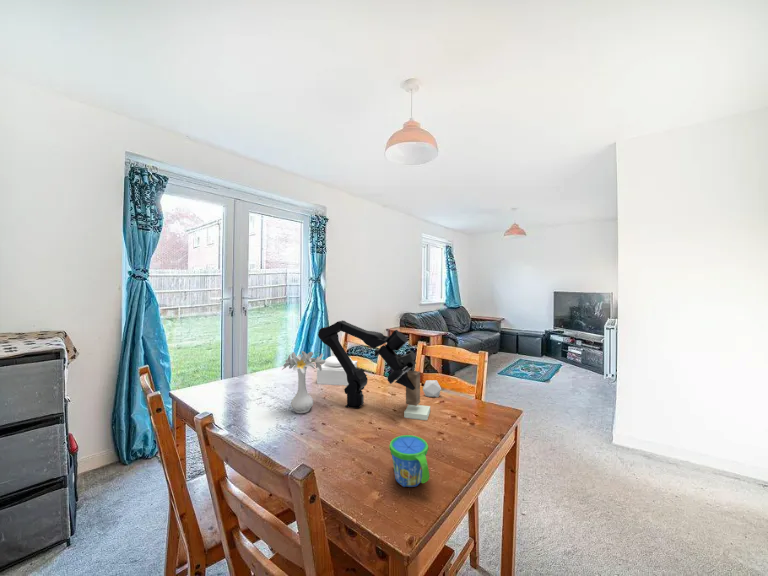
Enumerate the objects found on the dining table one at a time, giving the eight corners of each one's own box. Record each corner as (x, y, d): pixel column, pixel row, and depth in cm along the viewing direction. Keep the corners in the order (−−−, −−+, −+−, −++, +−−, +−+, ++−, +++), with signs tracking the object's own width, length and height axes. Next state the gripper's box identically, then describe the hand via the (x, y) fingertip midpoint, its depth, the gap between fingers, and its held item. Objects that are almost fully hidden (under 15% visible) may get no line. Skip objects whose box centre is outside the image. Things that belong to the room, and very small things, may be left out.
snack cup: (440, 491, 83) (440, 453, 83) (405, 503, 79) (405, 463, 78) (411, 460, 97) (411, 428, 97) (380, 469, 93) (380, 435, 93)
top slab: (404, 417, 125) (404, 412, 125) (409, 408, 133) (409, 403, 133) (426, 420, 122) (426, 415, 122) (430, 411, 131) (430, 406, 131)
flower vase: (329, 406, 139) (328, 350, 138) (293, 421, 124) (293, 358, 124) (310, 399, 147) (310, 346, 146) (275, 413, 133) (274, 353, 132)
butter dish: (316, 384, 169) (316, 354, 168) (328, 374, 186) (328, 347, 186) (348, 386, 166) (348, 356, 165) (357, 375, 183) (357, 348, 183)
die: (436, 403, 143) (446, 384, 146) (420, 393, 144) (430, 374, 147) (433, 403, 151) (443, 385, 154) (418, 393, 152) (427, 375, 155)
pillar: (405, 404, 127) (405, 373, 127) (409, 400, 131) (409, 370, 131) (416, 405, 125) (416, 374, 125) (420, 401, 129) (420, 371, 129)
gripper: (394, 349, 121) (422, 382, 117) (411, 341, 138) (436, 369, 133) (376, 368, 125) (402, 400, 120) (395, 357, 141) (418, 384, 137)
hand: (416, 387), depth 128 cm, fingers closed on pillar, 4 cm apart
